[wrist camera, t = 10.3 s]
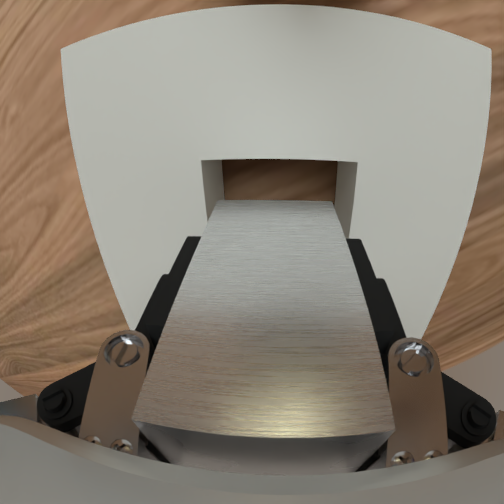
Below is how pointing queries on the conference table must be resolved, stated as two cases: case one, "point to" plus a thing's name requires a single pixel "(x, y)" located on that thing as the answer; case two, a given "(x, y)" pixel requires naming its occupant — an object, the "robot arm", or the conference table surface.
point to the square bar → (268, 350)
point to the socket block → (280, 133)
